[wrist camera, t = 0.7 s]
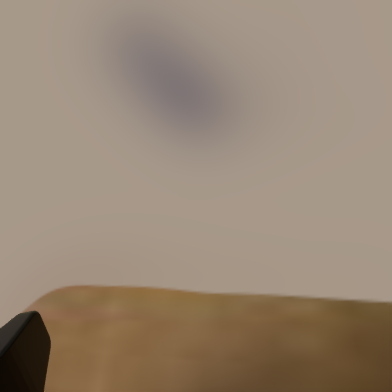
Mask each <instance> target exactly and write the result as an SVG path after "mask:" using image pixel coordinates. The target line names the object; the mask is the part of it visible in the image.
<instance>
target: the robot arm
mask: <svg viewBox="0 0 392 392" xmlns="http://www.w3.org/2000/svg"><path fill="white" fill-rule="evenodd" d="M50 348H51V340H50V336H49V334H48V332H47V329H46V327H45V325H44V322H43V320H42V318H41V315H40V314H39V313H38V312H37V311H30V312H25V313H20V314H18V315H16V316H15V317H14V318H13V319H11V320H10V321H9V322H8V323H7V324H5V325H4V326H3V327H2V328H0V392H44V386H45V380H46V374H47V367H48V361H49V355H50Z"/></svg>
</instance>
